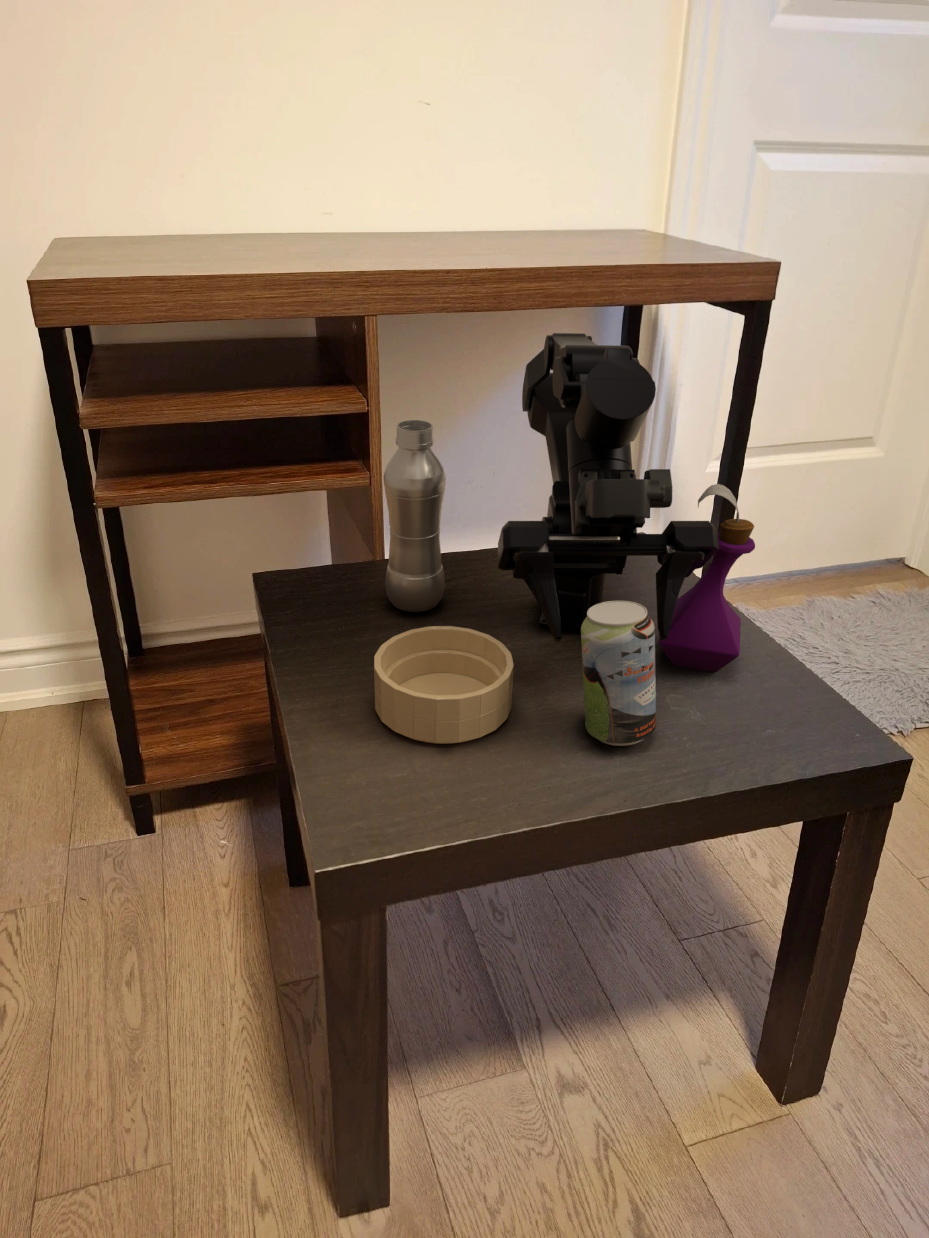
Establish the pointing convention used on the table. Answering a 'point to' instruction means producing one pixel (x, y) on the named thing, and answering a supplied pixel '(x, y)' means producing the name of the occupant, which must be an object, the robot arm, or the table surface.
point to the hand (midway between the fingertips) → (611, 639)
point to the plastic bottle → (414, 519)
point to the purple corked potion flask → (710, 603)
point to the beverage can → (619, 672)
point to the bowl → (443, 684)
